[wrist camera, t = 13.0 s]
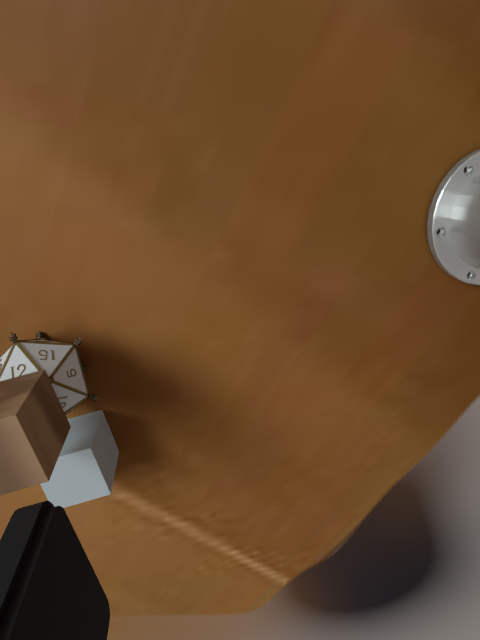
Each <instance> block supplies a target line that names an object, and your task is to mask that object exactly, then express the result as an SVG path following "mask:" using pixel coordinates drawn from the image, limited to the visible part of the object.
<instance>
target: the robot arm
mask: <svg viewBox="0 0 480 640" xmlns="http://www.w3.org/2000/svg"><path fill="white" fill-rule="evenodd" d="M437 230H438V231H437ZM427 237H428V241H429V246H430V250H431V252H432V254H433V256H434V259H435V260H436V262H437V263H438V264H439V266H440V267H441V268H442V269H443V270H444V271H445V272H446V273H448V274H449V275H450V276H452V277H454V278H456V279H458V280H460V281H463V282H466V283H469V284H475V285H480V149H478V150H475V151H473V152H471V153H470V154H469V155H467V156H466V157H464V158H463V159H462V160H460V161H459V162H458V163H457V164H456V165H455V166H454V167H453V168H452V169H451V170H450V171H449V172H448V174H447V175H446V176H445V178H444V179H443V180H442V182H441V183H440V185H439V187H438V189H437V191H436V193H435V195H434V197H433V200H432V203H431V206H430V209H429V215H428V222H427ZM109 620H110V609H109V603H108V600H107V597H106V595H105V593H104V591H103V589H102V587H101V585H100V583H99V580H98V578H97V576H96V574H95V572H94V570H93V568H92V566H91V564H90V562H89V560H88V558H87V556H86V554H85V552H84V550H83V547H82V545H81V543H80V541H79V539H78V537H77V535H76V533H75V531H74V529H73V527H72V525H71V523H70V521H69V519H68V517H67V514H66V512H65V510H64V509H63V507H61V506H56V507H54V505H53V504H52V503H51V502H50V501H44V502H41V503H37V504H34V505H30V506H26V507H23V508H19V509H17V510H16V511H15V512H14V513H13V515H12V517H11V519H10V521H9V523H8V525H7V528H6V530H5V532H4V534H3V536H2V538H1V540H0V640H107V634H108V628H109Z"/></svg>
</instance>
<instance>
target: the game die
mask: <svg viewBox="0 0 480 640" xmlns="http://www.w3.org/2000/svg"><path fill="white" fill-rule="evenodd" d="M9 338H10V341H12V342H13V344H12V345H11V346H10V347H9V348H8V349H7V350H6V351H5V352H4V353H3V354H2V355H1V356H0V381H4V380H7V379H11V378H15V377H18V376H22V375H26V374H29V373H33V372H37V371H40V370H44V369H45V371H46V373H47V375H48V377H49V380H50V382H51V384H52V386H53V388H54V391H55V393H56V395H57V397H58V400H59V402H60V404H61V406H62V408H63V411H64V413H65V415H67V414H68V413H69V412H71V411H72V410H73V409H74V408H76V407H77V406H78V405H80V404H81V403H82V402H83V401H85V400H86V399H87V398H90V399H91V400H93V401H94V400H98V399H99V397H98V396H97V394H89V390H88V386H87V383H86V379H85V376H84V372H86V370H87V368H86V367H85V366H83V367H82V365H81V361H80V358H79V354H78V350H77V347H76V346H77V345H80V343H82V337H80V338H76V340H74V343H73V344H72V343H65V342H58V341H51V340H44V339H42V338H43V334H42V333H41V332H40V331H39V332H38V333H37V334H36V338H37V339H32V340H17V336H16V334H13V333H11V332H10V335H9Z"/></svg>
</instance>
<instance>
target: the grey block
mask: <svg viewBox="0 0 480 640" xmlns="http://www.w3.org/2000/svg"><path fill="white" fill-rule="evenodd" d="M67 420H68V422H69V424H70V426H71V428H70V430H69V433H68V435H67V438H66V440H65V443H64V445H63V447H62V450H61V452H60V455H59V457H58V460H57V462H56V465H55V467H54V470H53V472H52V475H51V477H50V480H49V482H45V483H42V484H40V485H41V487H42V489H43V491H44V493H45V494H46V496H47V498H48V500H49V501H50V502H51V503H52V504H53V505H54V507H56V506H61V507H63V508H65V507H68V506H72V505H75V504H79V503H82V502H86V501H89V500H93V499H96V498H100V497H103V496H107V495H110V494H111V491H112V486H113V481H114V476H115V471H116V466H117V461H118V456H119V450H118V447H117V445H116V442H115V440H114V438H113V435H112V433H111V430H110V428H109V425H108V423H107V420H106V418H105V415H104V413H103V411H102V410H100V411H96V412H92V413H89V414H85V415H81V416H78V417H74V418H70V419H67Z"/></svg>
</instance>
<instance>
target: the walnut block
mask: <svg viewBox="0 0 480 640" xmlns="http://www.w3.org/2000/svg"><path fill="white" fill-rule="evenodd" d="M70 428H71V426H70V424H69V422H68V420H67V417H66V415H65V413H64V411H63V408H62V406H61V404H60V402H59V400H58V397H57V395H56V393H55V391H54V388H53V386H52V384H51V382H50V380H49V377H48V375H47V373H46V371H45V369H44V370H40V371H37V372H33V373H29V374H26V375H22V376H18V377H15V378H11V379H7V380H4V381H0V495H3V494H7V493H10V492H14V491H17V490H21V489H24V488H28V487H31V486H35V485H38V484H42V483H45V482H49V480H50V477H51V475H52V472H53V470H54V467H55V465H56V462H57V460H58V457H59V455H60V452H61V450H62V447H63V445H64V443H65V440H66V438H67V435H68V433H69V430H70Z"/></svg>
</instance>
